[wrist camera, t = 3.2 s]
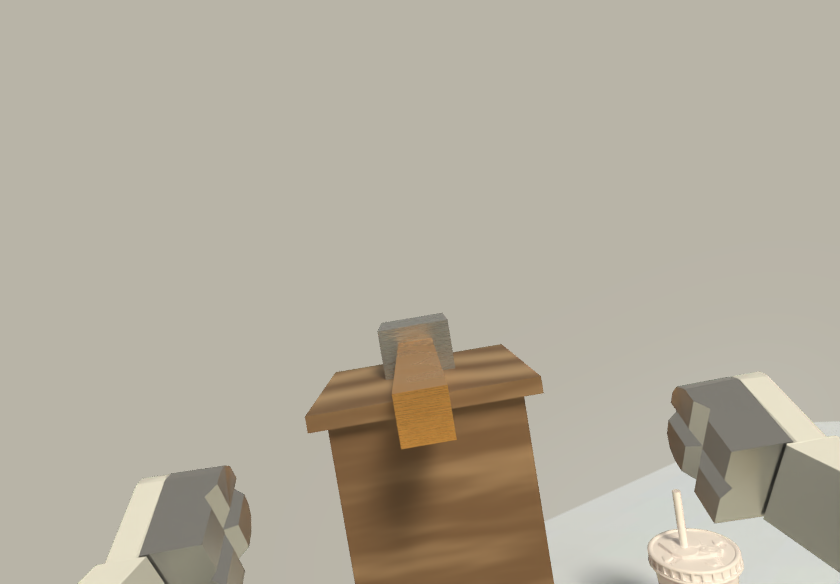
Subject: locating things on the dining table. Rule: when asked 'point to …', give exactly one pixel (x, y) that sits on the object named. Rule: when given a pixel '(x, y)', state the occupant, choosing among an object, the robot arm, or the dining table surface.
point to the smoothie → (693, 554)
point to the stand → (439, 478)
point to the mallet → (419, 378)
